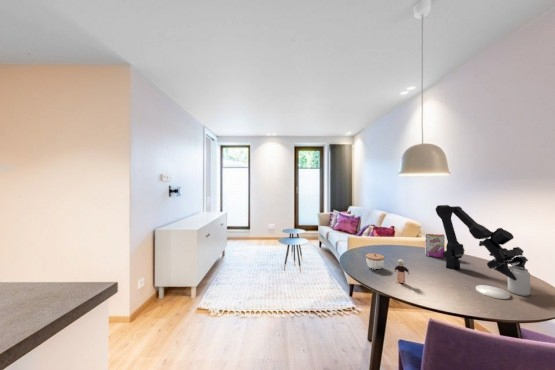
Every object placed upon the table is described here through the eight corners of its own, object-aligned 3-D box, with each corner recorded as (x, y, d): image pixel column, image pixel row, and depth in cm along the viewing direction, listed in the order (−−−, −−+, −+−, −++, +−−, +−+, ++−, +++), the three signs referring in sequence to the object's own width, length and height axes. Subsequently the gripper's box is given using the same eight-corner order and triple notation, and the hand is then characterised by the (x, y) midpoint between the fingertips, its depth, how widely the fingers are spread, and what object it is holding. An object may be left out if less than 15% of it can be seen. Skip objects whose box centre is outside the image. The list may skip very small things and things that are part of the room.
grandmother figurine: (393, 283, 122) (393, 259, 121) (393, 280, 125) (393, 257, 125) (410, 285, 118) (410, 261, 118) (409, 282, 122) (409, 259, 122)
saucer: (477, 294, 108) (477, 292, 108) (474, 285, 118) (474, 283, 118) (512, 301, 101) (512, 299, 101) (507, 291, 110) (507, 289, 110)
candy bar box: (426, 256, 164) (425, 233, 164) (425, 254, 168) (424, 232, 168) (445, 258, 159) (444, 234, 159) (443, 256, 164) (442, 233, 164)
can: (535, 297, 104) (535, 271, 104) (515, 296, 106) (515, 270, 106) (521, 289, 112) (521, 265, 112) (503, 288, 113) (503, 264, 113)
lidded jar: (365, 270, 140) (365, 255, 140) (366, 264, 150) (365, 250, 150) (385, 272, 136) (384, 257, 136) (383, 266, 146) (383, 251, 146)
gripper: (493, 242, 111) (521, 273, 100) (523, 240, 114) (553, 270, 103) (476, 253, 119) (501, 283, 108) (504, 251, 122) (531, 280, 111)
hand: (522, 279), depth 107 cm, fingers closed on can, 7 cm apart
